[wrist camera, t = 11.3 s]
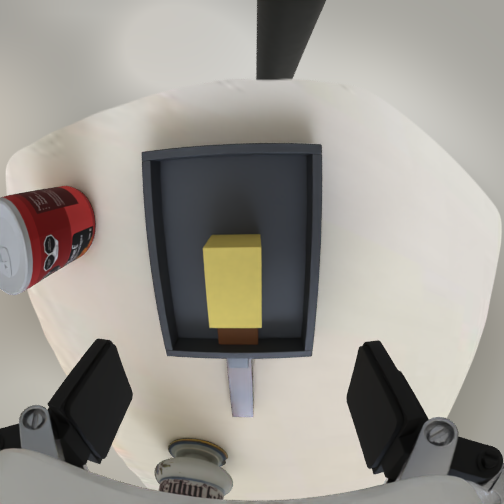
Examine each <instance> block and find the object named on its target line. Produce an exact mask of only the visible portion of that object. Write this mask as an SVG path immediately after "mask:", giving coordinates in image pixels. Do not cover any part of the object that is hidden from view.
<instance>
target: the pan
mask: <svg viewBox="0 0 504 504" xmlns="http://www.w3.org/2000/svg"><path fill="white" fill-rule="evenodd" d="M142 161H143V162H142V176H143V194H144V208H145V220H146V231H147V240H148V249H149V257H150V265H151V272H152V279H153V285H154V292H155V298H156V304H157V309H158V315H159V320H160V325H161V330H162V335H163V340H164V345H165V349H166V354H167V356H176V357H193V358H221V359H263V358H291V357H309V356H312V349H313V340H314V331H315V320H316V309H317V297H318V283H319V267H320V248H321V220H322V145H321V144H298V143H249V144H223V145H206V146H193V147H182V148H172V149H162V150H154V151H146V152H142ZM236 234H260V237H261V262H262V328H258V345H221V344H219V342H218V331H217V328H210V327H209V318H208V307H207V296H206V285H205V272H204V259H203V247H204V246H205V244H206V243H207V241H208V240H209V238H210V237H211V235H236Z"/></svg>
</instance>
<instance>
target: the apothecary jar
mask: <svg viewBox="0 0 504 504" xmlns="http://www.w3.org/2000/svg"><path fill="white" fill-rule="evenodd" d="M168 449H169V452H170V454H171V455H172V456H173V457H174V458H170V459H167V460H164V461H162V462H160V463H159V464H158V465H157V466H156V468H155V477H156V480H157V481H158V483H159V484H160V487H159V491H161V492H167V493H172V494H178V495H184V496H192V497H200V498H209V499H221V500H223V498H224V496H225V495H226V494H228V493H229V492H230V491H231V489H232V487H233V481H232V478H231V476H230V475H229V474H228V473H227V472H226V471H225V470H224V469H223V468H221V466H223V465H224V464H225V463H226V462H225V460H226V459H227V458H228V456H227V454H226V452H225V451H224V450H223V449H222V448H220V447H218V446H217V445H215V444H212V443H210V442H207V441H203V440H198V439H179V440H175V441H173V442H172V443H170V445H169V448H168Z"/></svg>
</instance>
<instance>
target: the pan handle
mask: <svg viewBox="0 0 504 504" xmlns="http://www.w3.org/2000/svg"><path fill="white" fill-rule="evenodd" d="M227 369H228V380H229V389H230V399H231V408H232V417H253V376H252V359H227Z"/></svg>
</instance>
